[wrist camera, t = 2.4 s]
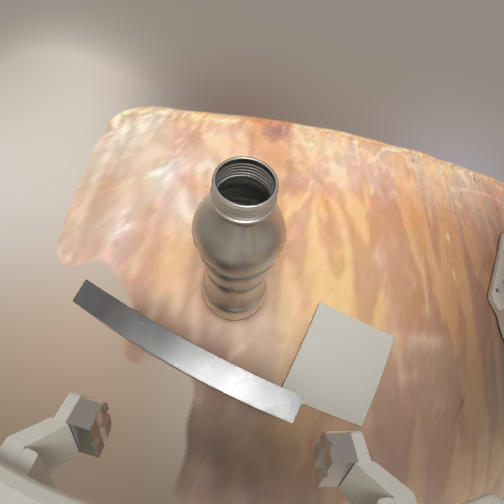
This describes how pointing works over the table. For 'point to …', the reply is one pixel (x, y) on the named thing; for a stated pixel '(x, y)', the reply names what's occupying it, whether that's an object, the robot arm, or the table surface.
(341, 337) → the rubber pad
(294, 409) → the panel
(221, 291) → the plastic bottle
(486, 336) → the table surface
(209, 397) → the table surface
